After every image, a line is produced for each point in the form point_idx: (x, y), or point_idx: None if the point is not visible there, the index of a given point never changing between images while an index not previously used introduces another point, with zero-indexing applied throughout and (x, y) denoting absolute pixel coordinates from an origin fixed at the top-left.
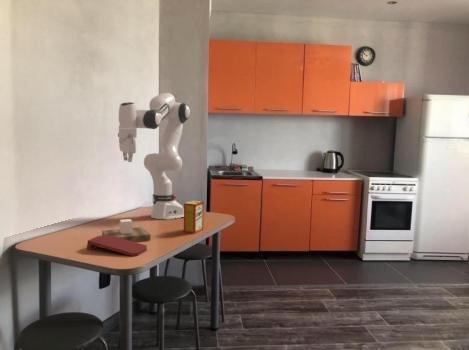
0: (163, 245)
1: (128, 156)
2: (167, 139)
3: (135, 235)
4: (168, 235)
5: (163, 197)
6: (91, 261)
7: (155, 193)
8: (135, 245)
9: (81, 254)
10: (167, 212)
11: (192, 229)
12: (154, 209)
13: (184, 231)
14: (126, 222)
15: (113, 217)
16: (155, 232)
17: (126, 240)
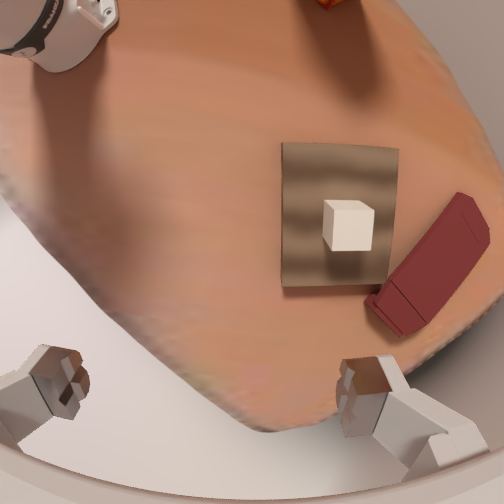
0: (448, 135)
1: (414, 457)
2: None
3: (391, 199)
4: (353, 70)
5: (52, 6)
6: (463, 320)
7: (16, 38)
8: (460, 224)
9: (415, 337)
10: (92, 9)
11: None
12: (57, 54)
13: (329, 8)
14: (371, 232)
15: (32, 200)
16: (295, 95)
17: (430, 241)
